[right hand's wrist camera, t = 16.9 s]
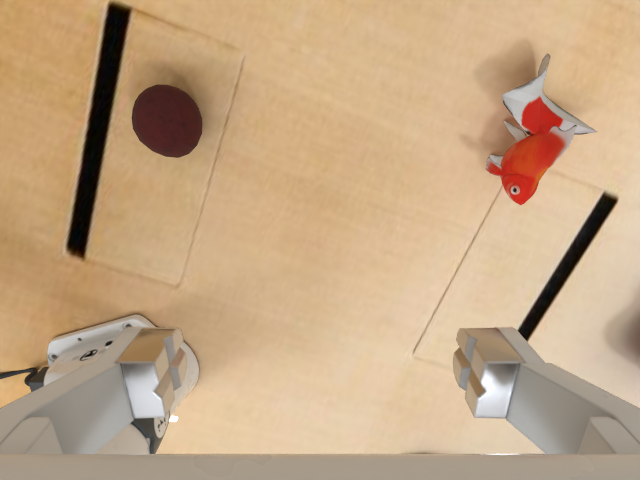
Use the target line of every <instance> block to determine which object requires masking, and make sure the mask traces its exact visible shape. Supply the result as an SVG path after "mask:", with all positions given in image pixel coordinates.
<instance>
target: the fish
mask: <svg viewBox="0 0 640 480" xmlns="http://www.w3.org/2000/svg"><path fill="white" fill-rule="evenodd" d="M549 60H550V55H549V54H547V55H546V56H545V57H544V58H543V60H542V63H541V65H540V68H539V71H538V77H537V78H535V79H533V80H532V81H530V82H528V83H527V84H525V85H523V86H520V87H518V88H515V89H513V90H511V91H509V92H507V93H505V94H503V95H502V98H503V102H504V105H505V106H506V108H507V109H508V110H509V111H510V112H511V114H512V115H513V116H514V118H515V119H516V121H517V122H518V123H519V124H520V126H521V127H522V128H523V129H524V130H525V131H526V132H527V134H528V135H530V136H528V137H526V134H525V133H524V131H522V130H521V129H519V128H517V127H515V126H513V125H511V124H510V123H508V122H506V121H504V123H505V125H506V127H507V128H508V130H509V132H510V133H511V134H512V135H513V136H514V138H515V139H516V141H517V143H515V144H514V145H513V146H512V147H511V148H510V149H509V150H508V151H507V152H506V153H505V155H504V156H496V155H490V157H488V159H487V166H486V170H487V171H489V172H490V173H491V174H494V175H497V176H500V177H501V180H502V184H503V186H504V189H505V191H506V193H507V194H508V196H509V197H510V199H512V200H513V201H514V202H516V203H518V204H520V205H522V204H524V203H525V202H526V201H527V200H528V199H529V198H531V197H532V196H533V194H534V193H535V191H536V189H537V186H538V182H539V180H540V179H541V177H542V176H543V174H544V173H545V172H546V170H547V169H548V168H549V167H550V166H552V165H553V164H554V162H555V161H556V160H557V159H558V158H559V157H560V156H561V155H562V154H563V153H564V152H565V151H566V149H567V148H568V147H569V145H570V143H571V141H572V139H573V136H574V134H587V133H594V132H597V131H595V130H594V129H592V128H591V127H589V126H588V125H586V124H585V123H583V122H582V121H580V120H579V119H577V118H576V117H574V116H573V115H571V114H569V113H568V112H566V111H565V110H563V109H562V108H560V107H559V106H558V105H556V104H555V103H554V102H552V101H551V100H550V99H548V98H547V96H546V95H545V94H544V93H543V92H542V90H543V85H544V80H545V76H546V72H547V68H548V64H549Z"/></svg>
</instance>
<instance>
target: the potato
mask: <svg viewBox="0 0 640 480" xmlns="http://www.w3.org/2000/svg"><path fill="white" fill-rule="evenodd" d="M132 124H133V129H134V131H135V133H136V135H137V136H138V138H139V140H140V141H141V142H142V143H143V144H144V145H146V146H147V147H148V148H149V149H151V150H152V151H154V152H156V153H159V154H161V155H163V156H167V157H176V158H178V157H182V156H184V155H187V154H189V153H190V152H191V151H192V150H193V149H194V148H195V147H196V146H197V144H198V141H199V139H200V136H201V134H202V117H201V114H200V111H199V108H198V107H197V105H196V103H195V102H194V100H193V99H192V98H191V97H190V96H189V95H188V94H187V93H185V92H184V91H182V90H180V89H179V88H176V87H172V86H169V85H155V86H152V87H149V88H147V89H146V90H144V91H143V92H142V93H141V94H140V95H139V96H138V98H137V99H136V101H135V104H134V107H133V112H132Z"/></svg>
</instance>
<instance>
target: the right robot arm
mask: <svg viewBox="0 0 640 480" xmlns="http://www.w3.org/2000/svg"><path fill="white" fill-rule="evenodd" d="M128 324H130V325H131V326H129V325H128ZM183 341H184V339H183V334H182V330H181V329H179V328H159V327H155V326H154V325H153V324H152V323H151V322H150V321H148V320H147V319H146V318H144V317H143V316H141V315H131V316H128V317H124V318H121V319H117V320H114V321H110V322H107V323H103V324H100V325H96V326H93V327H89V328H86V329H82V330H79V331H75V332H72V333H68V334H65V335H62V336H58V337H55V338H53V339H52V341H51V342H50V343H49V346H48V351H47V357H48V364H49V367H43V368H42V369H41V370H40V371H39V372H38V370H37V369H35V368H29V369H25V370H19V371H11V372H7V373H3V374H0V379H2V378H6V377H10V376H13V375H17V374H21V373H27V372H31V373H30V374H29V375H28V376H27V377H26V378H25V384H26V385H28V386H30V389H31V393H29V394H27V395H25V396H23V397H21V398H19V399H17V400H15V401H14V402H12V403H10V404H8V405H6V406H4V407H2V408H0V480H640V408H638V407H636V406H634V405H632V404H630V403H628V402H626V401H624V400H622V399H620V398H618V397H616V396H614V395H613V394H611V393H609V392H607V391H605V390H603V389H601V388H599V387H597V386H595V385H593V384H591V383H589V382H587V381H585V380H583V379H581V378H579V377H577V376H575V375H573V374H571V373H569V372H567V371H565V370H563V369H561V368H560V367H558V366H556V365H554V364H552V363H545V362H544V361H543V360H542V359H541V357H540V356H539V355H538V354H537V353H536V352H535V350H534V349H533V348H532V347H531V346H530V345H529V344H528V342H527V341H526V340H525V339H524V338H523V337H522V336H521V334H520V333H519V332H518V331H517V330H516V329H515V328H513V327H494V328H460V329H459V331H458V333H457V338H456V341H457V343H458V344H459V346H460V347H459V348H458V350H457V351H456V352H455V353H454V358H453V369H454V375H455V378H456V381H457V383H458V385H459V387H461V388H462V389H464V390H465V391H466V395H465V400H466V402H467V404H468V406H469V408H470V410H471V412H472V414H473V416H474V418H507V419H506V420H507V421H508V422H509V423H510V424H512V425H513V426H514V427H515V428H516V429H518V430H519V431H520V432H521V433H522V434H523V435H525V436H526V437H527V438H528V439H529V440H530V441H532V442H533V443H534V444H535V445H536V446H538V447H539V448H540V449H541V450H542V451H543V452H545V453H546V454H155V453H156V451H157V449H158V447H159V445H160V443H161V441H162V439H163V436H164V434H165V431H166V429H167V426H168V423H169V421H174V422H176V421H177V419H178V417H177V416H172V415H173V413H174V412H175V410H176V409H177V407H178V406H179V405H180V403H181V402H182V401H183V399H184V398H185V397H186V396H187V395H188V393H189V392H190V391H191V390H192V389H193V388H194V386H195V385H196V383H197V380H198V377H199V365H198V362H197V359H196V357H195V355H194V353H193V351H192V350H191V349H190V348H189V346H188V345H187V344H186V343H185V342H183Z"/></svg>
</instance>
